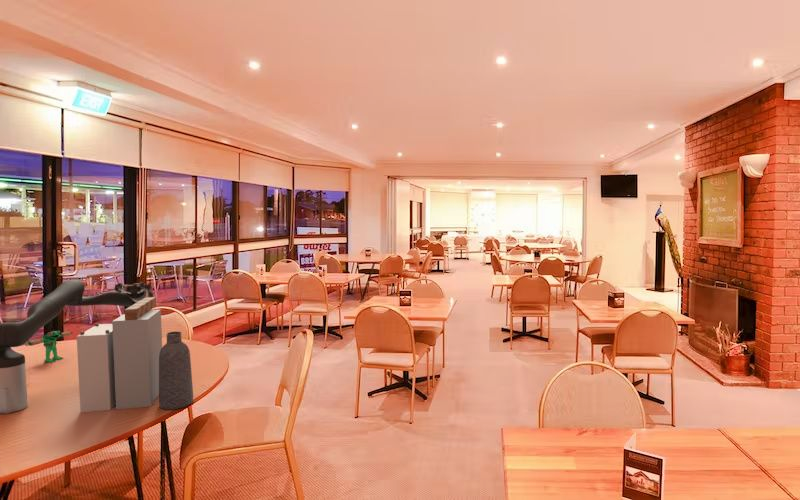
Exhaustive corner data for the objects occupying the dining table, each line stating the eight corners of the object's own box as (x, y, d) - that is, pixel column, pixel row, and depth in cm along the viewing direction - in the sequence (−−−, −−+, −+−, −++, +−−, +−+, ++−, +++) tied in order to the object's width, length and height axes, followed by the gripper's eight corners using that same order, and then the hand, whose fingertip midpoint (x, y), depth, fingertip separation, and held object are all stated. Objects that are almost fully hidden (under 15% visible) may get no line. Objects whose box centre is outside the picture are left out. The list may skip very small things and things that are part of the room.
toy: (34, 368, 228) (32, 337, 227) (23, 367, 229) (21, 337, 228) (80, 353, 253) (79, 325, 252) (70, 352, 254) (68, 325, 253)
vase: (177, 396, 192) (174, 328, 190) (200, 400, 187) (198, 330, 185) (151, 407, 181) (148, 335, 179) (175, 412, 176) (173, 338, 174)
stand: (150, 406, 182) (147, 319, 179) (80, 412, 176) (75, 322, 174) (163, 388, 201) (160, 309, 199) (100, 393, 196) (97, 312, 193)
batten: (136, 319, 179) (136, 309, 179) (125, 320, 179) (124, 309, 178) (156, 306, 207) (155, 297, 206) (146, 306, 206) (145, 297, 205)
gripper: (121, 285, 223) (112, 276, 208) (155, 285, 227) (148, 276, 212) (120, 301, 220) (111, 293, 206) (154, 300, 225) (147, 292, 210)
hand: (130, 284), depth 209 cm, fingers open, 8 cm apart
